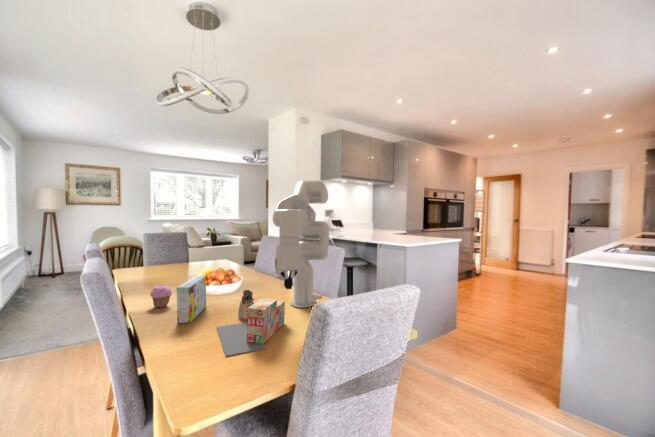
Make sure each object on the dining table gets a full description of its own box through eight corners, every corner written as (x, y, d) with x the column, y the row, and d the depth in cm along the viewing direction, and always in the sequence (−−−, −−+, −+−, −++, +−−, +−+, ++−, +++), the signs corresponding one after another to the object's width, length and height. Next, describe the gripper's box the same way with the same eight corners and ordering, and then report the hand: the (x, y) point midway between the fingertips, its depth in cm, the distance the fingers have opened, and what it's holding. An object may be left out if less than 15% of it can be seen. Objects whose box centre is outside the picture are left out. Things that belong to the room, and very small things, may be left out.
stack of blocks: (270, 321, 125) (271, 292, 125) (284, 323, 124) (285, 293, 123) (246, 342, 104) (247, 307, 104) (263, 344, 103) (264, 308, 102)
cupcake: (146, 308, 141) (146, 286, 140) (162, 302, 149) (162, 282, 148) (159, 310, 137) (159, 288, 137) (175, 305, 145) (175, 284, 145)
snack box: (194, 307, 143) (194, 275, 142) (206, 307, 143) (206, 275, 143) (176, 323, 122) (176, 286, 121) (190, 323, 122) (190, 286, 122)
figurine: (258, 315, 132) (258, 288, 132) (248, 321, 125) (248, 292, 125) (245, 313, 135) (246, 286, 135) (234, 318, 128) (234, 290, 128)
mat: (249, 322, 124) (249, 321, 124) (265, 349, 100) (265, 348, 100) (216, 327, 118) (216, 326, 118) (225, 356, 95) (225, 355, 95)
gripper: (303, 240, 123) (302, 284, 123) (267, 240, 117) (266, 288, 117) (310, 241, 116) (309, 288, 116) (272, 242, 110) (272, 292, 110)
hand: (288, 288), depth 116 cm, fingers closed
